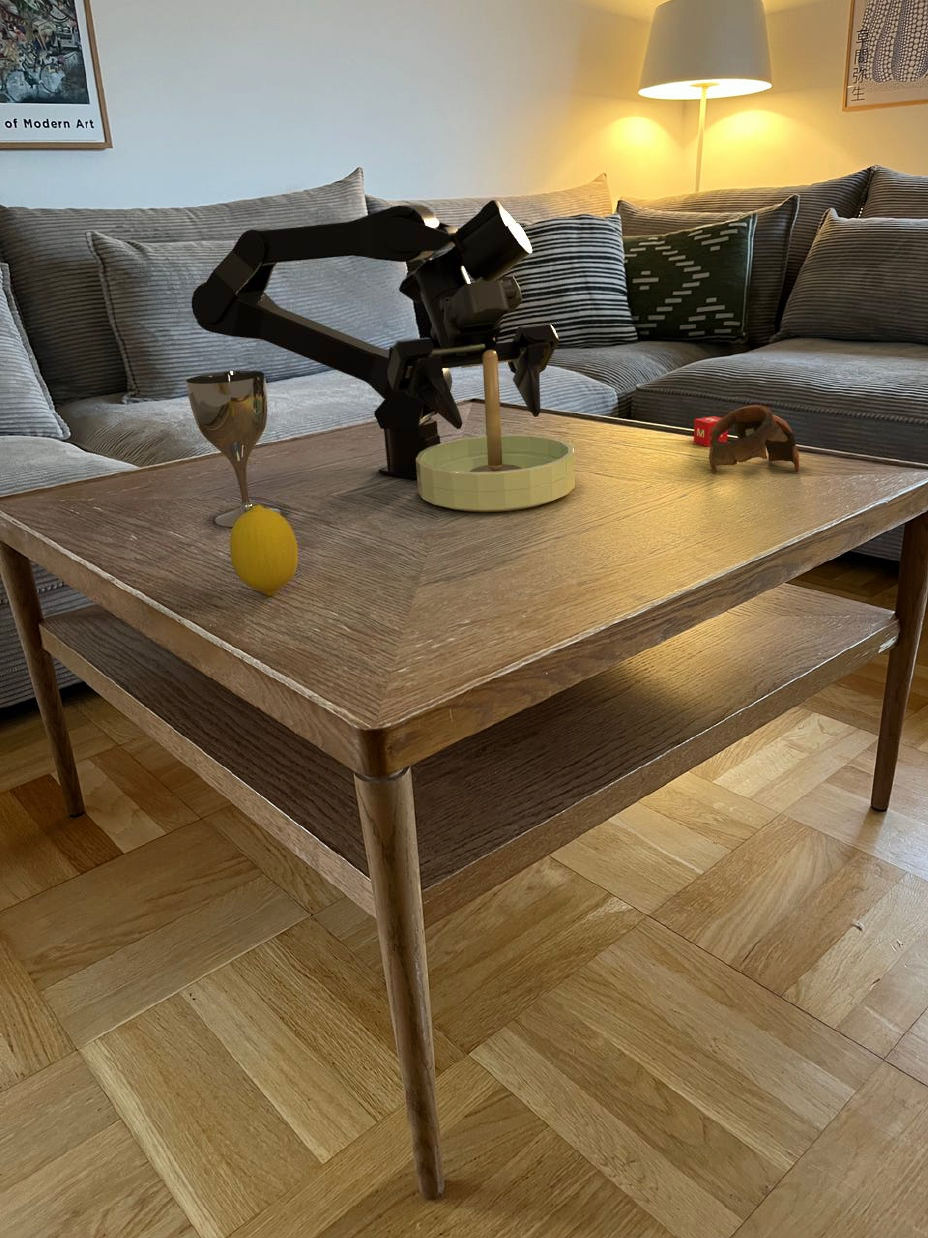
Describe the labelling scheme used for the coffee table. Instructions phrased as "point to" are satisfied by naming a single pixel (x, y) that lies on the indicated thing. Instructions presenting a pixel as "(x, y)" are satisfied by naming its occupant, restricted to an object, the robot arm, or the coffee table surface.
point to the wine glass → (231, 421)
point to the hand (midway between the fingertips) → (499, 420)
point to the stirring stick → (492, 416)
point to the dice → (706, 430)
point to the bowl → (496, 473)
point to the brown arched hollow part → (753, 438)
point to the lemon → (263, 549)
